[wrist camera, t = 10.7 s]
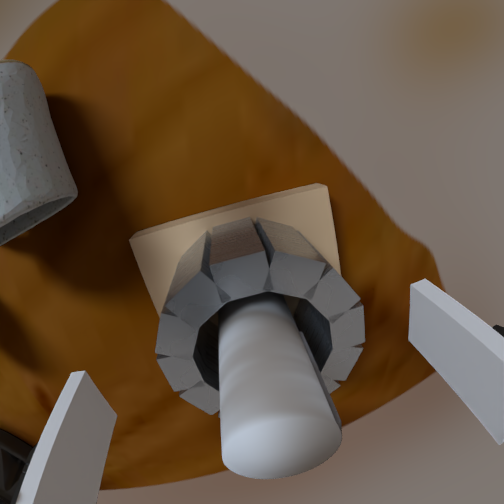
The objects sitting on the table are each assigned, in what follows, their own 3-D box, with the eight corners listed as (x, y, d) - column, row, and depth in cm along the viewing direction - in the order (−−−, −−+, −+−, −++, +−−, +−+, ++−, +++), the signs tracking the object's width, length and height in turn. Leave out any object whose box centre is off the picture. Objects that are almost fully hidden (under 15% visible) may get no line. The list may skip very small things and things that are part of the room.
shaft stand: (189, 361, 18) (178, 517, 8) (136, 231, 15) (26, 361, 5) (339, 322, 18) (422, 457, 8) (317, 183, 15) (469, 246, 5)
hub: (202, 368, 17) (200, 433, 12) (152, 244, 14) (122, 288, 9) (333, 333, 17) (365, 390, 12) (312, 201, 14) (355, 226, 9)
